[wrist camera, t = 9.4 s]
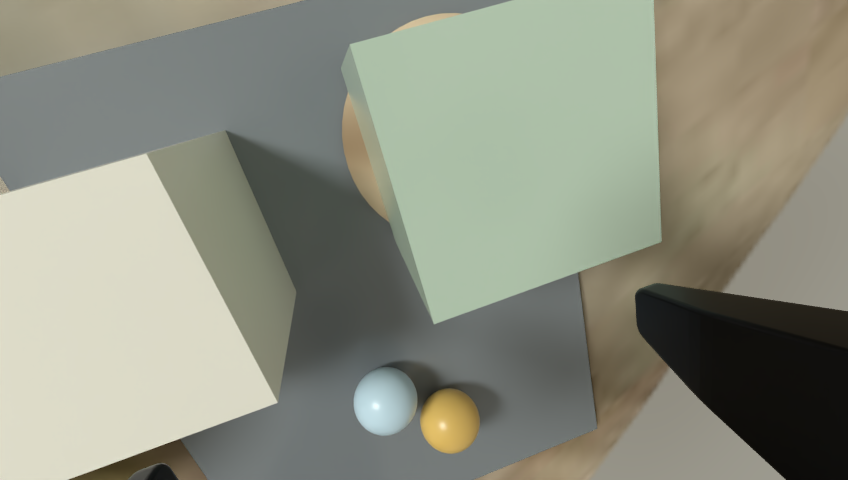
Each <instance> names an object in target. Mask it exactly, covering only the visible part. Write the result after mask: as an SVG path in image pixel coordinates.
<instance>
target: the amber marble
mask: <svg viewBox="0 0 848 480" xmlns="http://www.w3.org/2000/svg"><path fill="white" fill-rule="evenodd" d="M420 426H421V430H422V433H423V435H424V437H425V439H426V441H427V442H428V443H429V444H430V445H431V446H432V447H433V448H435V449H436V450H438V451H440V452H443V453H447V454H454V453H459V452H461V451H464V450H465V449H467V448H468V447H469V446H470V445H471V444H472V443H473V442H474V440H475V439H476V437H477V434H478V431H479V426H480V417H479V412H478V409H477V407H476V405H475V403H474V402H473V400H472V399H471V398H470V397H469V396H468V395H467V394H466V393H464V392H462V391H460V390H457V389H453V388H446V389H441V390H438V391H436V392H435V393H433V394H432V395H431V396H429V398H428V399H427V400H426V402H425V403H424V405H423V407H422V410H421V415H420Z"/></svg>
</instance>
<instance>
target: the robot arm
mask: <svg viewBox="0 0 848 480" xmlns="http://www.w3.org/2000/svg"><path fill="white" fill-rule="evenodd" d="M635 303H636V319H637V327H638V330H639V332H640V334H641V335H642V337H643V338H644V339H645V340H646V341H647V342H648V343H649V345H650V346H651V347H652V348H653V349H654V350H655V351H656V352H657V353H658V355H659V356H660V357H661V358H662V359H663V360H664V361H665V362H666V363H667V365H668V366H669V367H670V368H671V369H672V370H673V371H674V372H675V373H676V374H677V375H678V377H679V378H680V379H681V380H682V381H683V382H684V383H685V384H686V386H687V387H688V388H689V389H690V390H691V391H692V392H693V393H694V394H695V395H696V396H697V397H698V398H699V399H700V400H701V401H702V402H703V403H704V404H705V405H706V406H707V407H708V408H709V409H710V410H711V411H712V412H713V413H714V414H715V415H717V416H718V417H719V418H720V419H721V420H722V421H723V422H724V423H726V425H727V426H729V427H730V428H731V429H732V430H733V431H734V432H735V433H736V434H737V435H738V436H739V437H740V438H741V439H743V440H744V441H745V442H746V443H747V444H748V445H749V446H750V447H751V448H752V449H753V450H754V451H756V452H757V453H758V454H759V455H760V456H761V457H762V458H763V459H765V461H766V462H768V463H769V464H770V465H771V466H772V467H773V468H774V469H775V470H776V471H777V472H778V473H779V474H780V475H781V476H783V477H784V478H785V479H786V480H848V311H842V310H835V309H829V308H822V307H815V306H807V305H802V304H795V303H788V302H781V301H775V300H768V299H761V298H754V297H748V296H741V295H734V294H728V293H721V292H714V291H707V290H701V289H694V288H687V287H681V286H674V285H667V284H660V283H655V284H652V285H649V286H646V287H643V288H641V289H639V290H638V291H637V292H636V295H635ZM128 480H178V478H177V477H176V475H175V474H174V472H173V471H172V469H171V468H170V467H169V466H168V465H167V464H165V463H158V464H155V465H152V466H150V467H147V468H144V469H141V470H139V471H137V472H135V473H134V474H133V475H132V476H131V477H130V478H129V479H128Z"/></svg>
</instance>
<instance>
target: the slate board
mask: <svg viewBox="0 0 848 480" xmlns="http://www.w3.org/2000/svg"><path fill="white" fill-rule="evenodd" d="M508 1H512V0H304V1H300V2H297V3H293V4H289V5H285V6H281V7H277V8H273V9H269V10H265V11H261V12H257V13H253V14H249V15H245V16H241V17H237V18H233V19H229V20H225V21H221V22H217V23H213V24H209V25H205V26H201V27H197V28H193V29H189V30H185V31H181V32H177V33H173V34H169V35H165V36H161V37H157V38H153V39H149V40H145V41H141V42H137V43H133V44H129V45H125V46H121V47H117V48H113V49H109V50H105V51H101V52H97V53H93V54H89V55H85V56H81V57H78V58H74V59H70V60H66V61H62V62H58V63H54V64H50V65H46V66H42V67H38V68H34V69H30V70H26V71H22V72H18V73H14V74H10V75H6V76H2V77H0V177H1V178H2V180H3V181H4V183H5V184H6V186H7V187H8V189H9V190H10V191H12V190H15V189H18V188H22V187H25V186H29V185H33V184H36V183H40V182H43V181H47V180H50V179H54V178H57V177H61V176H64V175H68V174H71V173H75V172H79V171H82V170H86V169H89V168H93V167H96V166H100V165H103V164H107V163H110V162H114V161H118V160H121V159H125V158H128V157H132V156H135V155H139V154H142V153H146V152H149V151H153V150H156V149H160V148H164V147H167V146H171V145H174V144H178V143H181V142H185V141H188V140H192V139H195V138H199V137H202V136H206V135H210V134H213V133H217V132H220V131H224V130H225V131H226V133H227V135H228V138H229V140H230V142H231V145H232V147H233V149H234V151H235V154H236V156H237V158H238V160H239V163H240V165H241V167H242V169H243V172H244V174H245V176H246V179H247V181H248V183H249V185H250V188H251V190H252V192H253V194H254V197H255V199H256V201H257V203H258V206H259V208H260V210H261V213H262V215H263V217H264V219H265V222H266V224H267V226H268V228H269V231H270V233H271V235H272V237H273V240H274V242H275V244H276V246H277V249H278V251H279V253H280V256H281V258H282V260H283V262H284V265H285V267H286V269H287V271H288V274H289V276H290V278H291V280H292V283H293V285H294V287H295V290H296V298H295V304H294V310H293V316H292V322H291V328H290V334H289V340H288V346H287V352H286V357H285V363H284V369H283V375H282V381H281V387H280V393H279V399H278V403H276V404H273V405H270V406H268V407H265V408H262V409H260V410H257V411H254V412H251V413H249V414H246V415H243V416H240V417H238V418H235V419H232V420H230V421H227V422H224V423H221V424H219V425H216V426H213V427H210V428H208V429H205V430H202V431H199V432H197V433H194V434H191V435H189V436H186V437H183V438H180V440H181V441H182V443H183V444H184V445H185V447H186V448H187V450H188V451H189V453H190V454H191V456H192V457H193V459H194V460H195V462H196V463H197V464H198V466H199V467H200V469H201V470H202V472H203V473H204V475H205V476H206V478H207V479H208V480H474V479H476V478H479V477H481V476H484V475H486V474H488V473H491V472H493V471H496V470H498V469H501V468H503V467H505V466H508V465H510V464H513V463H515V462H517V461H520V460H522V459H525V458H527V457H530V456H532V455H534V454H537V453H539V452H542V451H544V450H547V449H549V448H551V447H554V446H556V445H559V444H561V443H564V442H566V441H568V440H571V439H573V438H576V437H578V436H581V435H583V434H585V433H588V432H590V431H593V430H595V429H597V423H596V415H595V407H594V399H593V391H592V383H591V374H590V366H589V358H588V350H587V342H586V334H585V326H584V318H583V309H582V301H581V293H580V285H579V277H578V272H577V273H574V274H572V275H569V276H566V277H563V278H561V279H558V280H555V281H552V282H550V283H547V284H544V285H541V286H539V287H536V288H533V289H530V290H527V291H525V292H522V293H519V294H516V295H514V296H511V297H508V298H505V299H503V300H500V301H497V302H494V303H492V304H489V305H486V306H483V307H481V308H478V309H475V310H472V311H470V312H467V313H464V314H461V315H458V316H456V317H453V318H450V319H447V320H445V321H442V322H439V323H436V324H434V323H433V321H432V319H431V317H430V315H429V313H428V310H427V308H426V306H425V304H424V302H423V300H422V298H421V295H420V293H419V291H418V289H417V287H416V285H415V283H414V280H413V278H412V276H411V274H410V272H409V270H408V268H407V265H406V263H405V261H404V259H403V257H402V255H401V253H400V250H399V248H398V246H397V244H396V242H395V239H394V236H393V233H392V229H391V226H390V223H389V222H388V221H387V220H386V219H384V218H383V217H382V216H380V215H379V214H378V213H377V212H376V211H375V210H374V209H373V208H372V207H371V206H370V205H369V204H368V202H367V201H366V200H365V198H364V197H363V196H362V195H361V193H360V191H359V190H358V188H357V186H356V184H355V183H354V181H353V178H352V176H351V173H350V171H349V168H348V165H347V161H346V157H345V154H344V148H343V140H342V119H343V111H344V105H345V101H346V97H347V94H348V90H347V87H346V84H345V81H344V77H343V74H342V71H341V66H342V63H343V61H344V58H345V55H346V53H347V50H348V47H349V45H350V44H353V43H356V42H360V41H364V40H368V39H371V38H375V37H379V36H382V35H386V34H390V33H392V32H393V31H395V30H396V29H398V28H399V27H401V26H403V25H405V24H407V23H409V22H411V21H414V20H416V19H419V18H422V17H425V16H430V15H435V14H440V13H460V14H464V13H467V12H471V11H475V10H478V9H482V8H486V7H490V6H493V5H497V4H501V3H504V2H508ZM381 367H392V368H396V369H398V370H400V371H402V372H404V373H405V374H406V375H407V376H408V377H409V378H410V379H411V380H412V382H413V384H414V386H415V388H416V392H417V409H416V412H415V415H414V417H413V419H412V420H411V422H410V423H409V424H408V425H407V426H406V427H405V428H404V429H403V430H401V431H400V432H398V433H396V434H393V435H388V436H381V435H376V434H373V433H371V432H369V431H368V430H366V429H365V428H364V427H363V426H362V425H361V424H360V422H359V421H358V419H357V417H356V414H355V411H354V394H355V391H356V388H357V386H358V384H359V383H360V381H361V380H362V378H363V377H364V376H365V375H367V374H368V373H369V372H371V371H373V370H375V369H377V368H381ZM446 388H453V389H457V390H460V391H462V392H464V393H466V394H467V395H468V396H469V397H470V398H471V399H472V400H473V402H474V403H475V405H476V407H477V409H478V412H479V417H480V426H479V431H478V434H477V437H476V439H475V440H474V442H473V443H472V444H471V445H470V446H469V447H468V448H467V449H465V450H464V451H461V452H459V453H454V454H447V453H443V452H440V451H438V450H436V449H435V448H433V447H432V446H431V445H430V444H429V443H428V442H427V441H426V439H425V437H424V435H423V433H422V430H421V426H420V415H421V410H422V407H423V405H424V403H425V402H426V400H427V399H428V398H429V396H431V395H432V394H433V393H435V392H436V391H438V390H441V389H446Z"/></svg>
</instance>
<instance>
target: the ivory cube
mask: <svg viewBox="0 0 848 480" xmlns="http://www.w3.org/2000/svg"><path fill="white" fill-rule="evenodd" d="M295 298H296V290H295V287H294V285H293V283H292V280H291V278H290V276H289V274H288V271H287V269H286V267H285V265H284V262H283V260H282V258H281V256H280V253H279V251H278V249H277V246H276V244H275V242H274V240H273V237H272V235H271V233H270V231H269V228H268V226H267V224H266V222H265V219H264V217H263V215H262V213H261V210H260V208H259V206H258V203H257V201H256V199H255V197H254V194H253V192H252V190H251V188H250V185H249V183H248V181H247V179H246V176H245V174H244V172H243V169H242V167H241V165H240V163H239V160H238V158H237V156H236V154H235V151H234V149H233V147H232V145H231V142H230V140H229V138H228V135H227V133H226V131H225V130H224V131H220V132H217V133H213V134H210V135H206V136H202V137H199V138H195V139H192V140H188V141H185V142H181V143H178V144H174V145H171V146H167V147H164V148H160V149H156V150H153V151H149V152H146V153H142V154H139V155H135V156H132V157H128V158H125V159H121V160H118V161H114V162H110V163H107V164H103V165H100V166H96V167H93V168H89V169H86V170H82V171H79V172H75V173H71V174H68V175H64V176H61V177H57V178H54V179H50V180H47V181H43V182H40V183H36V184H33V185H29V186H25V187H22V188H18V189H15V190H12V191H8V192H5V193H1V194H0V480H68V479H71V478H74V477H77V476H79V475H82V474H85V473H88V472H90V471H93V470H96V469H98V468H101V467H104V466H107V465H109V464H112V463H115V462H118V461H120V460H123V459H126V458H128V457H131V456H134V455H137V454H139V453H142V452H145V451H148V450H150V449H153V448H156V447H159V446H161V445H164V444H167V443H169V442H172V441H175V440H178V439H180V438H183V437H186V436H189V435H191V434H194V433H197V432H199V431H202V430H205V429H208V428H210V427H213V426H216V425H219V424H221V423H224V422H227V421H230V420H232V419H235V418H238V417H240V416H243V415H246V414H249V413H251V412H254V411H257V410H260V409H262V408H265V407H268V406H270V405H273V404H276V403H278V399H279V393H280V387H281V381H282V375H283V369H284V363H285V357H286V352H287V346H288V340H289V334H290V328H291V322H292V316H293V310H294V304H295Z"/></svg>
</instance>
